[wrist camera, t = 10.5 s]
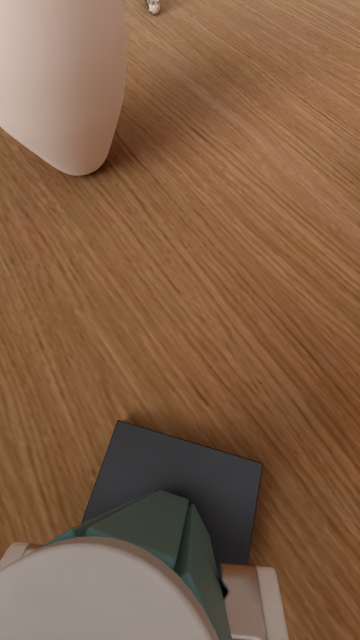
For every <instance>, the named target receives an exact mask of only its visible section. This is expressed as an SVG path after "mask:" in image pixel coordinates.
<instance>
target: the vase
mask: <svg viewBox="0 0 360 640" xmlns="http://www.w3.org/2000/svg"><path fill="white" fill-rule="evenodd" d="M125 76H126V22H125V11H124V5H123V0H0V127H1V128H2V129H4V130H5V131H6V132H7V133H8V134H10V135H11V136H12V137H13V138H15V139H16V140H17V141H19V142H20V143H21V144H23V145H24V146H25V147H27V148H28V149H29V150H31V151H32V152H34V153H35V154H36V155H38V156H39V157H40V158H42V159H43V160H44V161H46V162H47V163H49V164H50V165H51V166H53V167H54V168H56V169H58V170H60V171H61V172H64V173H66V174H69V175H74V176H80V175H86V174H89V173H92V172H94V171H96V170H97V169H98V168H99V167H100V166H101V165H102V164H103V163H104V161H105V160H106V158H107V155H108V153H109V150H110V147H111V143H112V140H113V136H114V133H115V129H116V126H117V122H118V118H119V115H120V111H121V107H122V102H123V97H124V89H125Z"/></svg>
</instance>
